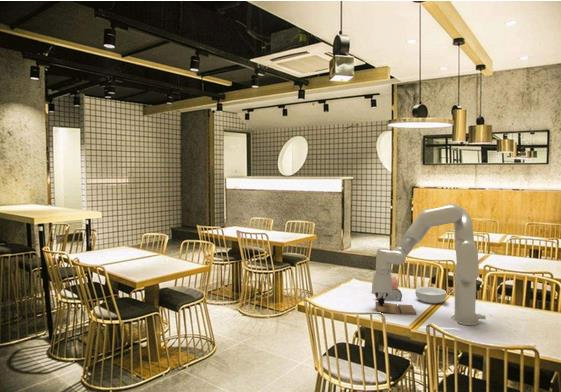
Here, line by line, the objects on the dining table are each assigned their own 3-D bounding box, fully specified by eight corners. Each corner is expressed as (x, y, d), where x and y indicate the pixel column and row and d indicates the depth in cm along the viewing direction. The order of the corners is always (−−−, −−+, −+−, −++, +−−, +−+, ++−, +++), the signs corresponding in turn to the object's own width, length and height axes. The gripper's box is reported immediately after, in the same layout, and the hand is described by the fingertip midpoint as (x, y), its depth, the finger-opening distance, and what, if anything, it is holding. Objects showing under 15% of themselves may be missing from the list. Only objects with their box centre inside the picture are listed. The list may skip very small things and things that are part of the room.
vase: (371, 294, 249) (372, 266, 248) (380, 289, 260) (380, 262, 259) (393, 298, 241) (393, 269, 240) (401, 292, 252) (401, 265, 251)
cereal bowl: (427, 296, 245) (427, 284, 245) (452, 303, 231) (452, 291, 231) (408, 301, 236) (409, 289, 235) (433, 309, 222) (433, 296, 221)
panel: (396, 306, 222) (396, 304, 222) (399, 314, 210) (400, 311, 210) (375, 303, 223) (375, 301, 223) (377, 311, 211) (377, 308, 211)
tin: (401, 301, 234) (401, 287, 234) (402, 303, 231) (402, 289, 231) (374, 300, 236) (375, 286, 235) (375, 302, 233) (375, 288, 232)
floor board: (412, 309, 221) (412, 304, 221) (417, 317, 208) (417, 312, 208) (371, 307, 224) (371, 302, 224) (374, 315, 211) (374, 310, 211)
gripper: (396, 270, 219) (394, 303, 220) (368, 268, 221) (366, 301, 222) (398, 274, 211) (396, 308, 212) (369, 272, 213) (367, 306, 214)
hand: (381, 304), depth 217 cm, fingers closed
